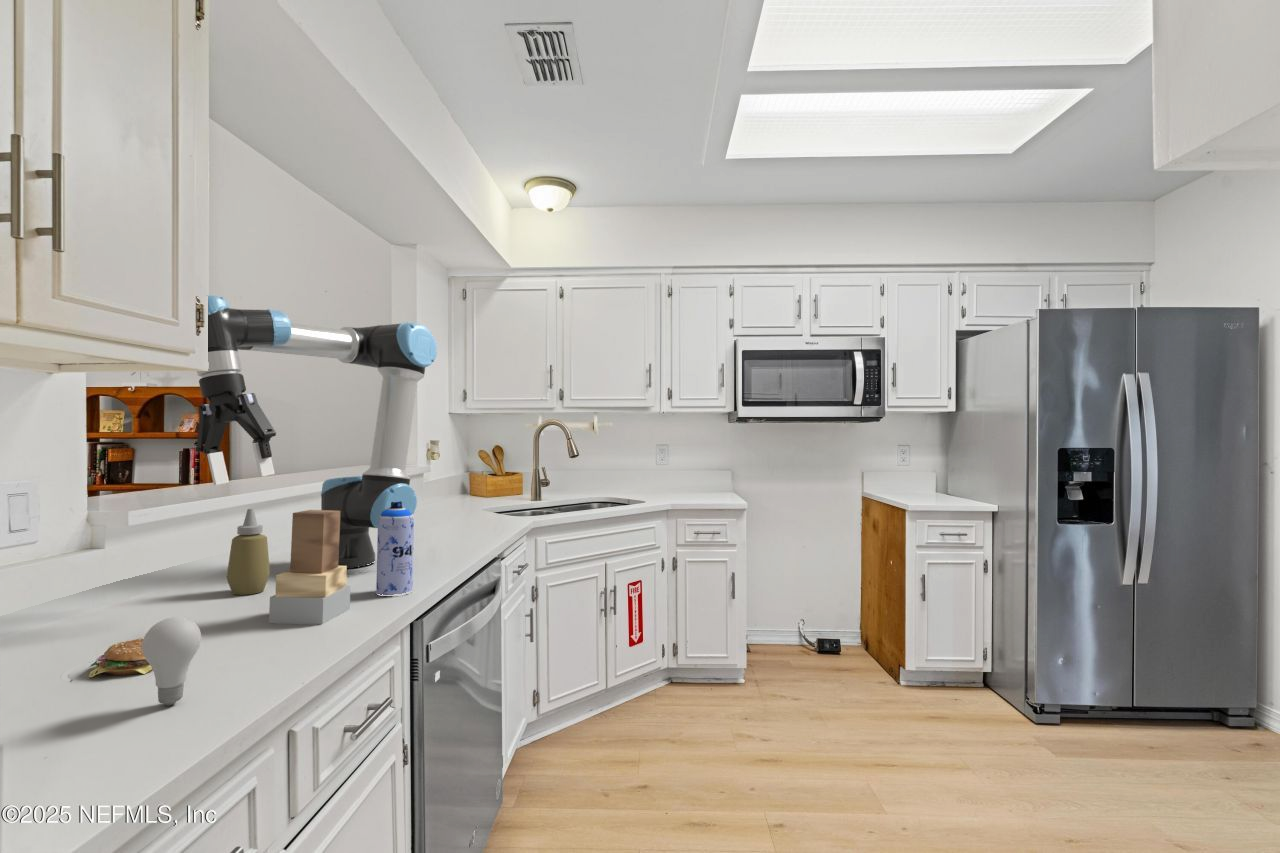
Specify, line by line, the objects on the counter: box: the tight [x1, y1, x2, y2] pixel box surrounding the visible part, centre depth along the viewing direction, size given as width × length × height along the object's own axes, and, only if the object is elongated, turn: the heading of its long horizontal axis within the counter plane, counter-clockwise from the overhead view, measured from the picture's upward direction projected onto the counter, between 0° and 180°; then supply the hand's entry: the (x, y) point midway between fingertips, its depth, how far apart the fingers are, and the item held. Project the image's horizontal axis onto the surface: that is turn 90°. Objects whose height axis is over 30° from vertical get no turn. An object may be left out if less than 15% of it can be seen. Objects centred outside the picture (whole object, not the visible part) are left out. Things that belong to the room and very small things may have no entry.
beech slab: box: [275, 566, 348, 597], centre depth 122 cm, size 9×9×4 cm
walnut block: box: [289, 509, 340, 573], centre depth 122 cm, size 6×6×11 cm
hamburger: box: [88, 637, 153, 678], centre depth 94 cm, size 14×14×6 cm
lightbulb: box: [142, 616, 202, 706], centre depth 81 cm, size 6×6×11 cm
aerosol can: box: [375, 501, 415, 595], centre depth 140 cm, size 8×8×20 cm
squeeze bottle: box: [226, 508, 271, 596], centre depth 138 cm, size 8×8×18 cm
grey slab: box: [268, 585, 351, 625], centre depth 121 cm, size 10×10×5 cm
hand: (244, 479), depth 128 cm, fingers open, 13 cm apart
